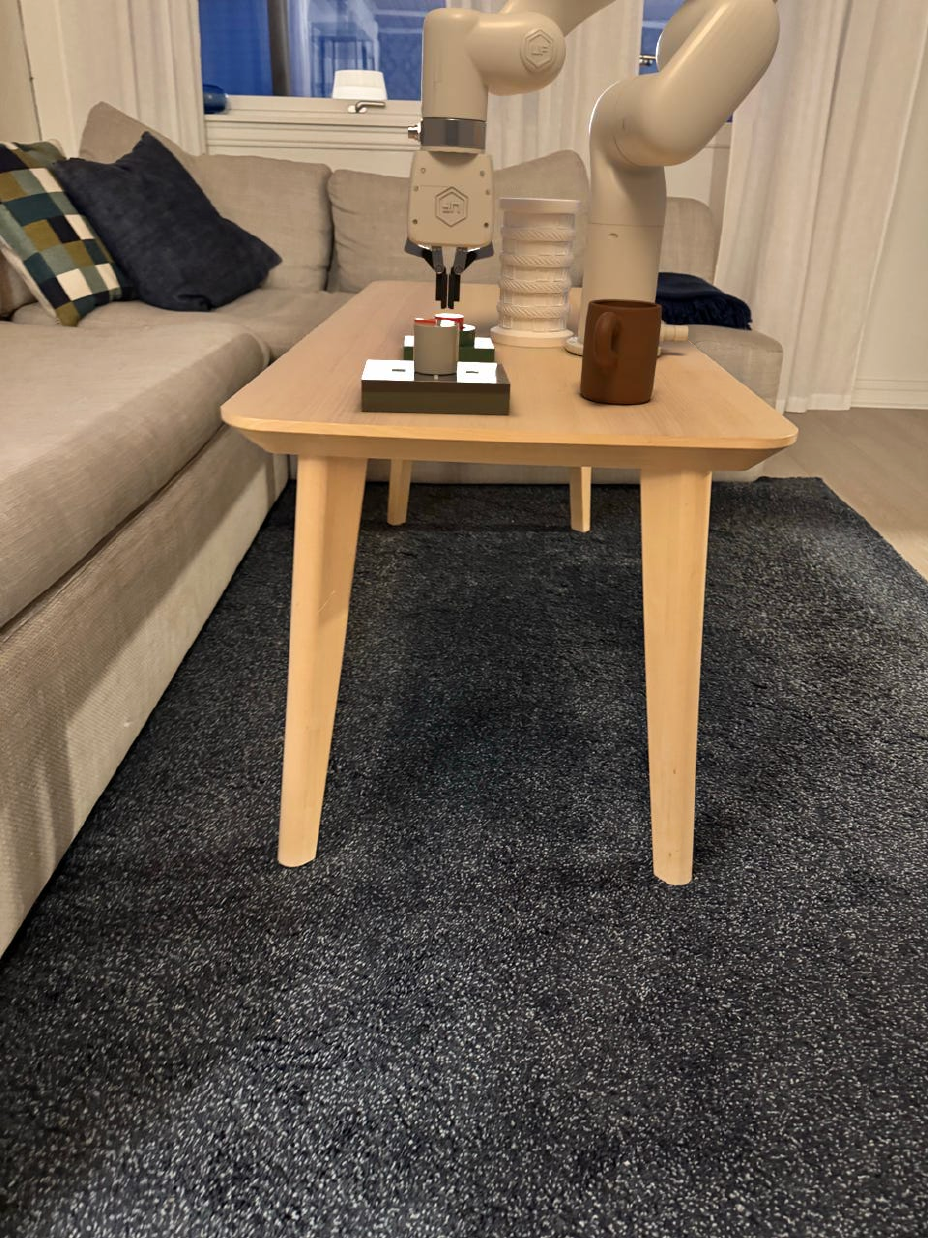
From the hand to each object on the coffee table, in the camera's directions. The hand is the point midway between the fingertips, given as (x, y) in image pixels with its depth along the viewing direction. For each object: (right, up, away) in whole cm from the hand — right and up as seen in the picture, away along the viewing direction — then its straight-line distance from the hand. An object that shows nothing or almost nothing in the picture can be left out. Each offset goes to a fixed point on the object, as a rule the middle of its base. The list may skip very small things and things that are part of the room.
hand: (447, 307), depth 111 cm
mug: (+17, -16, -18) cm, 30 cm away
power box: (0, -5, +3) cm, 6 cm away
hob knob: (-1, -14, -22) cm, 26 cm away
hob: (-1, -17, -21) cm, 27 cm away
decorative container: (+12, +1, +16) cm, 20 cm away
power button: (0, -2, +1) cm, 3 cm away
